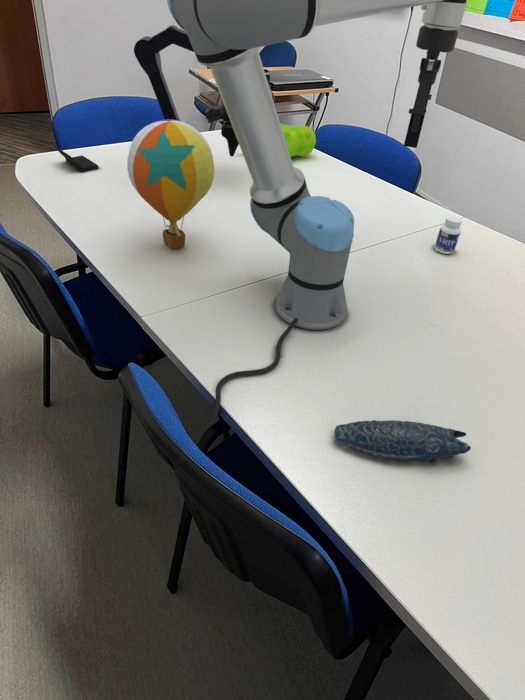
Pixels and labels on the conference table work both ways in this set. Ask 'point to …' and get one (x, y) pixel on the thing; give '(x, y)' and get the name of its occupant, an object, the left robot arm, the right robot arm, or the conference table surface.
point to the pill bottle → (448, 235)
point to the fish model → (401, 439)
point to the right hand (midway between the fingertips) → (412, 138)
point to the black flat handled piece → (79, 161)
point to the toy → (171, 172)
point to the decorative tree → (298, 139)
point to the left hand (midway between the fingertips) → (232, 151)
